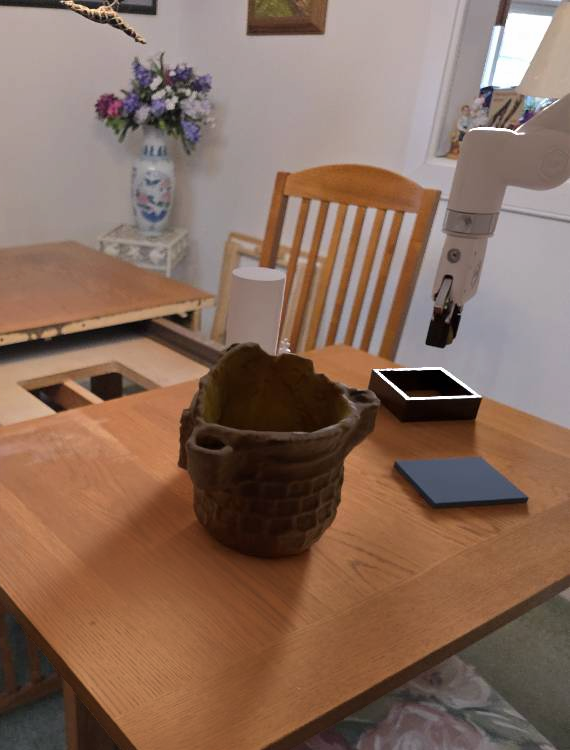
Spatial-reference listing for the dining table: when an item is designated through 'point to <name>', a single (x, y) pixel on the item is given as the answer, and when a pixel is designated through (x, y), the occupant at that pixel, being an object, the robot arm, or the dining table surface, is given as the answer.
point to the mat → (459, 482)
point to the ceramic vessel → (270, 449)
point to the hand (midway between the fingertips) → (440, 340)
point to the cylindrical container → (255, 307)
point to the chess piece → (284, 347)
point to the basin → (451, 406)
